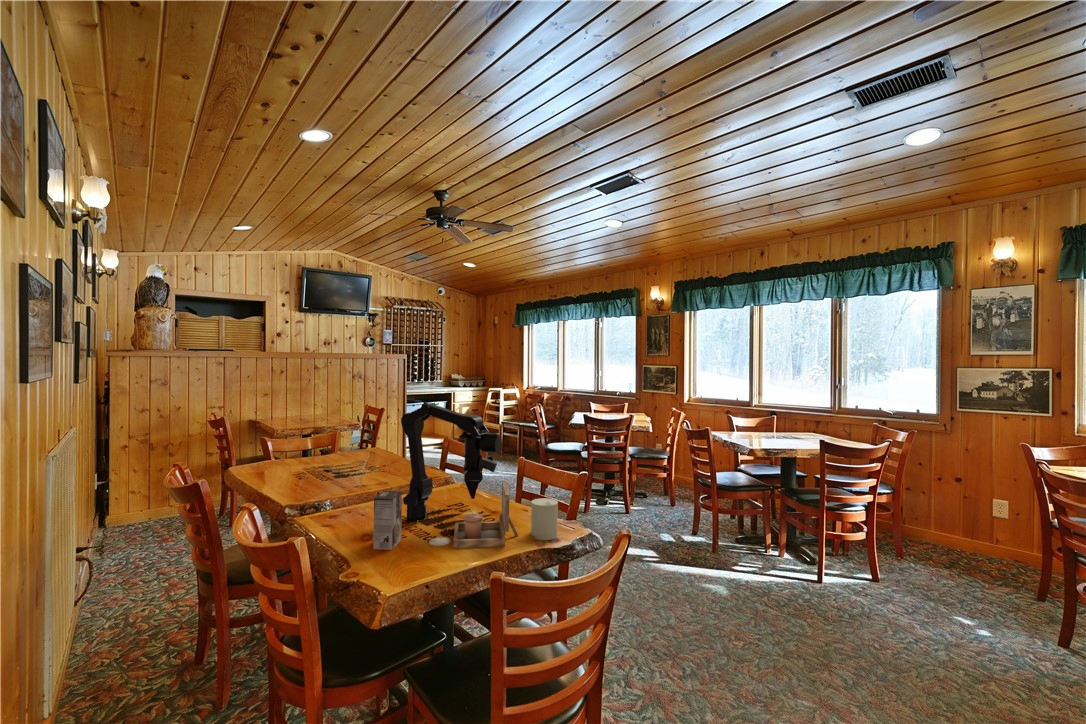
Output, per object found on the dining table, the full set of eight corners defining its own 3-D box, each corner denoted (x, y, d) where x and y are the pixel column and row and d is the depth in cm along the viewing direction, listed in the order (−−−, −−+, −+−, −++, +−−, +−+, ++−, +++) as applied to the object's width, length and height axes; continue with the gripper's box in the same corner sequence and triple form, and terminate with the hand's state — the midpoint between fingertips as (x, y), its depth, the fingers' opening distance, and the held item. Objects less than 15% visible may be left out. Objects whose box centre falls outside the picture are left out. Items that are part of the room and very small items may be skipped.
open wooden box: (453, 552, 159) (454, 496, 159) (455, 531, 178) (456, 481, 178) (522, 549, 162) (522, 494, 162) (516, 529, 181) (517, 480, 181)
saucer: (427, 548, 161) (427, 545, 161) (429, 540, 168) (429, 538, 168) (450, 547, 162) (450, 545, 162) (451, 539, 169) (451, 537, 169)
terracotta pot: (463, 540, 166) (463, 519, 166) (463, 534, 172) (464, 513, 172) (482, 540, 167) (482, 518, 167) (482, 534, 173) (482, 513, 173)
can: (539, 542, 168) (540, 505, 168) (525, 533, 176) (526, 498, 176) (563, 537, 173) (563, 501, 173) (548, 529, 181) (548, 495, 181)
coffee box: (382, 539, 168) (383, 490, 168) (401, 540, 168) (402, 490, 168) (372, 549, 159) (373, 497, 159) (392, 550, 159) (393, 498, 159)
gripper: (497, 455, 174) (497, 501, 174) (493, 446, 193) (493, 488, 193) (464, 456, 172) (464, 502, 172) (463, 447, 191) (463, 489, 191)
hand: (472, 495), depth 182 cm, fingers open, 9 cm apart
